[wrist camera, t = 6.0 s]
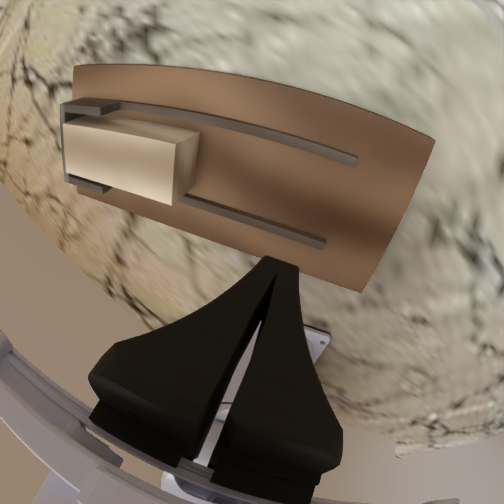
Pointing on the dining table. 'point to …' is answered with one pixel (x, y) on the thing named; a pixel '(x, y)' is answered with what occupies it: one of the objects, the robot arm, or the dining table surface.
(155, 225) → the dining table surface
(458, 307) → the dining table surface
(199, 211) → the board
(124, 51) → the dining table surface
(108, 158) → the cream rectangular block
